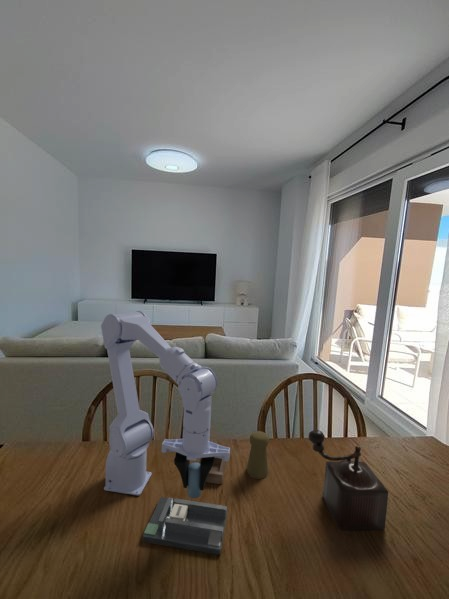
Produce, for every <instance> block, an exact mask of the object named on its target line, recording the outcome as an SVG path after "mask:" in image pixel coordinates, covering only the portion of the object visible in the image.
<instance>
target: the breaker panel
mask: <svg viewBox="0 0 449 599" xmlns="http://www.w3.org/2000/svg"><path fill="white" fill-rule="evenodd" d="M174 504H180V505H186V506H188V513H187V516H186V519H185V521H184V520H178V519H171V518H170V514H171V512H172V509H173V507H174ZM227 516H228V507H227V506H226V505H221V504H214V503H209V502H201V501H196V500H195V501H193V500H188V499H181V498H176V497H175V498H173V497H170V496H168V497H162V496H161V497H160V498H159V500H158V502H157V505H156V507H155V509H154V511H153V514H152V515H151V516H150V517H151V518H150V519H149V522H148V523H147V525H146V527H145V530H144V532H143V535H142V542H144V543H148V544H155V545H158V546H159V545H161V546H166V547H171V548H177V549H184V550H188V551H194V552H200V553H204V554H205V553H206V554H211V555H217V556H221V555H222V554H221V553H222V548H223V547H222V546H223V541H224V535H225V528H226V521H227V518H228V517H227Z"/></svg>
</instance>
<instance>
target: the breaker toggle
mask: <svg viewBox="0 0 449 599" xmlns="http://www.w3.org/2000/svg"><path fill="white" fill-rule="evenodd" d="M187 513H188V506H186V505H180V504H174V507H173V509H172V512H171V514H170V518H171V519H178V520H184V521H185V519H186V516H187Z"/></svg>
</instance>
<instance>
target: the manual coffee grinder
mask: <svg viewBox="0 0 449 599" xmlns="http://www.w3.org/2000/svg"><path fill="white" fill-rule="evenodd" d="M325 439H326V436H325V434H324V432H323V431H321V430H319V429H312V430H311V431H310V432H308V441H310V442H311V444H312V450H313V451H314V452H316V453H318V454H319V455H320V456H322V458H324V459H326V460H328V461H326V462H325V470H324V481H323V483H324V484H323V492H322V494H321V495H322V497H323V500H324V503H325V505H326V506H327V508H328V511H329V513H330V515H331V518H333V520H334V522H335V524H336V525H337V527H338V528H339V530H340V531H345V532H369V531H382V530H385V529H386V526H385V525H386V517H387V510H388V498H389V490H388V489H387V488H386V486H385V485H384V484H383V483H382V481H381V480H380V479H379V478H378V477H377V475H376V474H375V473H374V472H373V470H372V469H371V468H370V467H369V465H368V464H367V463H366V462H365V461H360V457H362V453H361V450H362V449H361V446H360V445H356V446H355V447H354V449H355V450H354V451H353V453H350V454H348V455H342V456H339V455H338V456H330V455H328V454H326V453H325V452H324V450H325V446H324V442H325ZM352 459H354V461H353V460H352Z"/></svg>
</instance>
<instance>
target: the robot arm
mask: <svg viewBox="0 0 449 599" xmlns="http://www.w3.org/2000/svg"><path fill="white" fill-rule="evenodd" d="M151 323H152V321H151V318H150V317H149V316H148V315H146V313H145V312H144V311H142V310H136V311H130V312H123V313H109V314H107V315H106V316H105V317H104V319H103V321H102V323H101V325H100V327H101V334H102V339H103V345H104V349H106V352H107V356H108V357H107V358H108V364H109V368H110V369H109V370H110V375H111V380H112V387H113V394H114V398H115V405H116V411H117V415H116V417H115V419H114V420H113V421H112V422H111V424H109V427H108V428H109V439H108V441H109V443H108V444H109V451H108V454H107V456H106V461H105V486H104V487H103V491H105V492H106V491H107V492H113V493H120V494H125V495H132V496H141V495H142V492H143V491H144V489H145V487H146V486H147V483H148V482H149V480H150V478H151V476H152V474H153V473H152V472H151V471H147V449H148V447H149V446H150V442H151V441H153V439H154V435H155V430H154V426H153V424H152V422H151V420H150V417H149V416H150V414H149V413H148V412H146V411H144V410H141V409H140V404H139V397H138V392H137V386H136V382H135V375H134V370H133V369H134V368H133V363H132V358H131V353H130V352H131V350H130V349H131V347H132V346H133V344H135V343H136V342H137V341H139V343H141V345H143V346H144V347H146V348H147V349H148V350H149V351H150V352H151V353H153V354H154V355H155V356H156V357H157V358H158V359H159V366H160V368H161V369H162V370H163V371H164V372H165V373H166V374H167V375H168V376H169V377H170V379H172V380H173V381H174V382H175V383H176V385H178V386H177V389H178V393H179V395H180V398H181V405H182V408H183V421H182V423H183V424H182V427H183V428H182V438H176V439H175V438H173V439H167V438H164V440H163V441H162V443H161V453H162V454H167V452H171V453H175V457H174V459H173V462H174V465H175V467H176V468H177V470H178V472H179V475H180V478H181V481H182V486H183V488H184V489H188V466H189V465H190V464H191V463H190V461H192V462H194V461H195V462H196V460H197V458H203V459H202V461H201V464H200V468H201V482H200V490H201V492H202V491H204V489H205V487H206V482H205V481H206V478H207V475H208V473H209V472H210V470H211V468H212V466H213V463H214V459H215V458H220V459H224V461H226V463H227V462H229V461H230V458H231V457H230V456H231V447H228V446H224V445H221V444H218V443H216V442H213V441H210V438H211V437H210V436H211V435H210V434H211V421H212V420H211V417H212V399H213V398H212V394H213V393H214V392H216V390H217V388H218V382H219V381H218V378H217V375H216V373H215V372H214V371H213V369H212V368H210V366H209V367H208V366H201V364H198V363H197V362H195V361H194V360H193V359H192V358H190V356H189V355H187V354H186V352H185V350H184V349H183V348H182V347H179V346H173V347H172V346H171V345H170V344H169V343H168V342H167V341H166V340H165V339H164V338H163V337H162V336H161V335H160V333H159V332H158V331H157V330H156V329H155V328H154V326H152V324H151Z"/></svg>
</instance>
